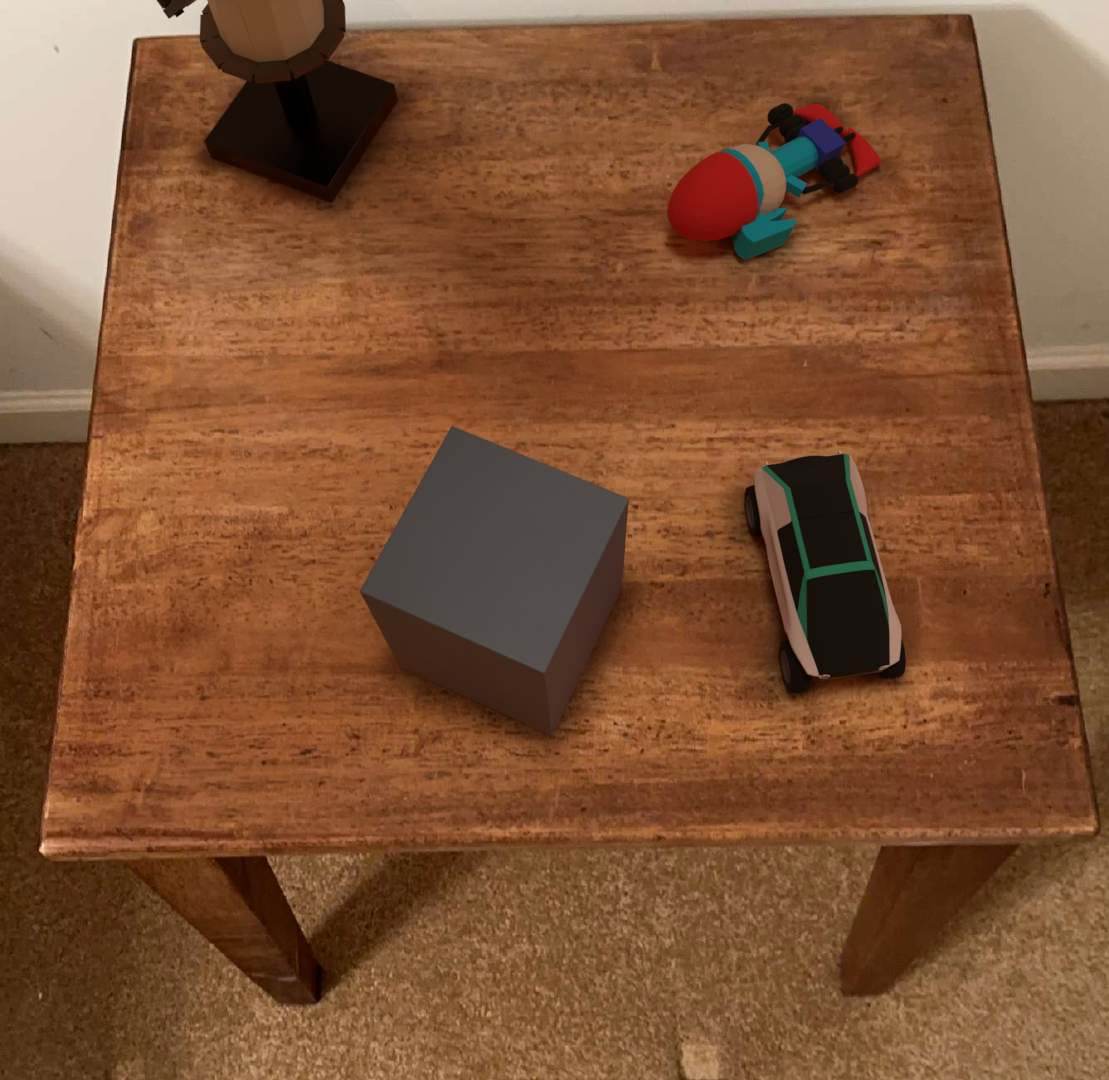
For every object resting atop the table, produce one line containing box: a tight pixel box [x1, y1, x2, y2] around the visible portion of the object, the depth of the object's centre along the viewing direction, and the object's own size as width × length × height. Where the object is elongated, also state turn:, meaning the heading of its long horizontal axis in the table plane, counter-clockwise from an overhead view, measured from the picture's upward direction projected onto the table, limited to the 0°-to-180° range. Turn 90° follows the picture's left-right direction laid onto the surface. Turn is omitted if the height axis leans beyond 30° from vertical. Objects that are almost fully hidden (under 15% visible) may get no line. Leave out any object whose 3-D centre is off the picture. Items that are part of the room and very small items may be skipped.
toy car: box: [743, 450, 907, 694], centre depth 61 cm, size 6×12×5 cm, turn 8°
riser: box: [359, 425, 630, 737], centre depth 58 cm, size 9×9×12 cm
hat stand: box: [203, 59, 399, 203], centre depth 69 cm, size 9×9×16 cm
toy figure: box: [667, 102, 883, 261], centre depth 72 cm, size 8×5×15 cm
